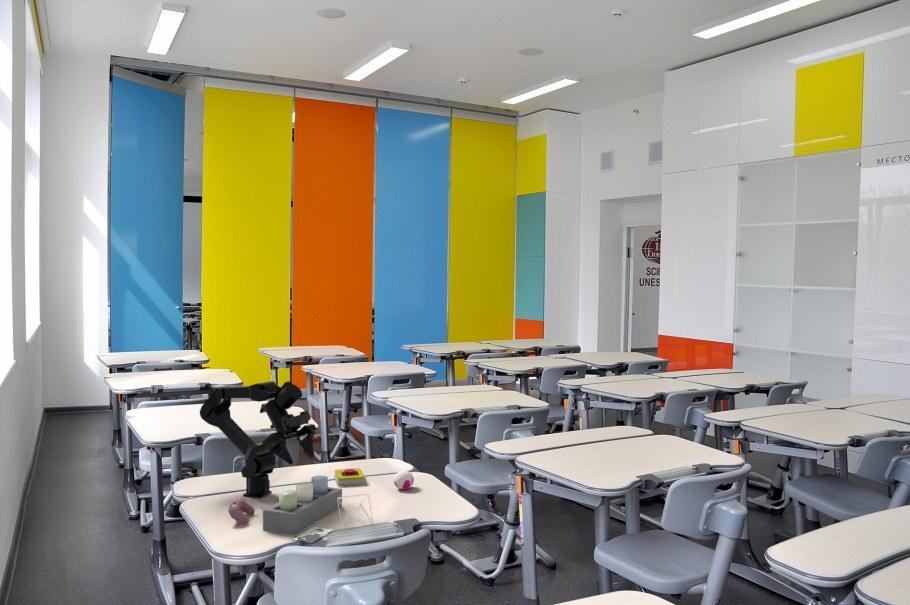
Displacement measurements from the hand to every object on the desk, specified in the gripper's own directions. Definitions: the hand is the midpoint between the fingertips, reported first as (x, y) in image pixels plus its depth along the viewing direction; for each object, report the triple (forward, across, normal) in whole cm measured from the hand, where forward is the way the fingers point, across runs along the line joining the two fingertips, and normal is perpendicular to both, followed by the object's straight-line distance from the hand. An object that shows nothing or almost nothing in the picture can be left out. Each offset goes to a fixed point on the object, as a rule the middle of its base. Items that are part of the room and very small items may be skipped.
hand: (302, 460), depth 209 cm
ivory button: (+13, -9, -1) cm, 15 cm away
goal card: (+23, -18, -7) cm, 30 cm away
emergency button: (+8, +28, +13) cm, 32 cm away
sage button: (+14, -16, -2) cm, 21 cm away
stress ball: (+21, +30, -4) cm, 37 cm away
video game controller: (+7, -19, +13) cm, 24 cm away
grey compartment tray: (+16, -8, +2) cm, 18 cm away
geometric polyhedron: (+26, -5, -10) cm, 28 cm away
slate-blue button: (+12, -1, 0) cm, 12 cm away
